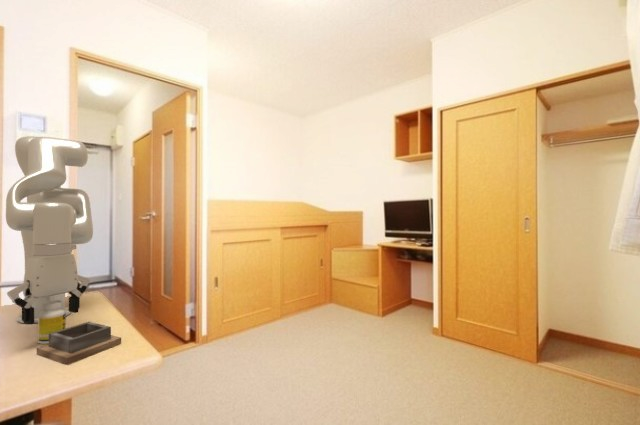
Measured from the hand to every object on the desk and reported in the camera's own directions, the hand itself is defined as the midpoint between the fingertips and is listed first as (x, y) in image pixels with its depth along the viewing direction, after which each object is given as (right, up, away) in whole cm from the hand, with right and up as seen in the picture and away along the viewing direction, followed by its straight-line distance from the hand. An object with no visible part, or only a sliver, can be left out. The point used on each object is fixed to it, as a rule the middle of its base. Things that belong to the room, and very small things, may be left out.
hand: (52, 317), depth 80 cm
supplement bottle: (-1, -6, +1) cm, 6 cm away
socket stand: (+10, -6, -4) cm, 13 cm away
